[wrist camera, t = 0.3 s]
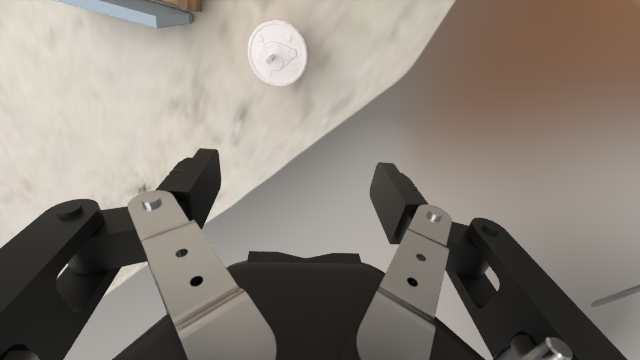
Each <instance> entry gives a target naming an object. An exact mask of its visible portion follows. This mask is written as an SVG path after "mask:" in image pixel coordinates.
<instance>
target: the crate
mask: <svg viewBox="0 0 640 360" xmlns="http://www.w3.org/2000/svg"><path fill="white" fill-rule="evenodd" d="M162 1H166V2H169V3H172V4H176V5H178V7H179V8H183V9H186V10H192V11H200V12H202V0H162Z"/></svg>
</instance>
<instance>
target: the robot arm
mask: <svg viewBox="0 0 640 360" xmlns="http://www.w3.org/2000/svg"><path fill="white" fill-rule="evenodd" d="M220 186H221V172H220V162H219V153H218V150H216V149H203V148H200V149H199V150H198V151H197V153H196V154H195V155H194V157H193V158H186V159H184V160H182V161H180V162H179V163H178V164H177V165H176V166H175V167H174V168H173V170H172V171H171V172H170V173H169V175H168V176H167V177H166V178H165V179H164V181H163V182H162V183H161V184H160V185H159V187H158V188H157V189H156V190H155V191H149V192H145V193H142V194H139V195H137V196H136V197H134V198H133V199H131V200H130V202H129V203H128V206H127V207H121V208H114V209H107V210H101V209H100V207H99V205H98V203H97V202H96V201H94V200H90V199H76V200H71V201H67V202H63V203H60V204H58V205H55V206H53V207H51V208H50V209H48V210H46V211H45V212H44V213H43V214H41V215H40V216H39V217H38V218H37V219H35V220H34V221H33V222H32V223H31V224H29V225H28V226H27V227H26V228H25V229H23V230H22V231H21V232H20V233H19V234H17V235H16V236H15V237H14V238H12V239H11V240H10V241H9V242H8V243H6V244H5V245H4V246H3V247H2V248H0V360H63V359H64V358H65V356H66V354H67V353H68V351H69V350H70V348H71V347H72V345H73V343H74V342H75V340H76V338H77V337H78V335H79V334H80V332H81V331H82V329H83V327H84V326H85V324H86V323H87V321H88V319H89V318H90V316H91V315H92V313H93V312H94V310H95V308H96V306H97V305H98V303H99V302H100V300H101V299H102V297H103V296H104V294H105V292H106V291H107V289H108V288H109V286H110V284H111V283H112V281H113V280H114V278H115V276H116V275H117V273H118V272H119V270H120V268H121V267H123V266H127V265H132V264H136V263H141V262H145V261H147V262H148V265H149V267H150V270H151V272H152V275H153V278H154V280H155V283H156V285H157V288H158V290H159V293H160V296H161V298H162V301H163V304H164V306H165V309H166V312H167V315H165V316H164V317H163V318H162V319H161V320H159V321H158V322H157V323H156V324H155V325H153V326H152V327H151V328H150V329H148V330H147V331H146V332H145V333H144V334H142V335H141V336H140V337H139V338H138V339H136V340H135V341H134V342H133V343H132V344H130V345H129V346H128V347H127V348H126V349H124V350H123V351H122V352H121V353H120V354H118V355H117V356H116V357H115V358H114V359H112V360H485V359H484V358H483V357H482V356H480V355H479V354H478V353H477V352H476V351H475V350H474V349H472V348H471V347H470V346H469V345H468V344H467V343H465V342H464V341H463V340H462V339H461V338H460V337H458V336H457V335H456V334H455V333H454V332H453V331H452V330H450V329H449V328H448V327H447V326H446V325H445V324H444V323H442V322H441V321H440V320H439V319H438V318H437V317H435V313H436V308H437V304H438V299H439V294H440V290H441V285H442V281H443V276H444V271H445V270H446V271H447V274H448V275H449V277H450V279H451V281H452V283H453V284H454V287H455V288H456V290H457V292H458V294H459V296H460V298H461V299H462V301H463V303H464V305H465V307H466V309H467V310H468V312H469V314H470V316H471V318H472V319H473V322H474V323H475V325H476V327H477V329H478V330H479V333H480V335H481V336H482V338H483V340H484V342H485V344H486V346H487V347H488V349H489V351H490V353H491V355H492V357H493V360H627V359H626V358H625V357H624V356H623V355H622V353H621V352H620V351H619V350H618V349H617V348H616V347H615V346H614V345H613V344H612V343H611V342H610V341H609V340H608V339H607V338H606V336H605V335H604V334H603V333H602V332H601V331H600V330H599V329H598V328H597V327H596V326H595V325H594V324H593V323H592V322H591V321H590V319H589V318H588V317H587V316H586V315H585V314H584V313H583V312H582V311H581V310H580V309H579V308H578V307H577V306H576V304H575V303H574V302H573V301H572V300H571V299H570V298H569V297H568V296H567V295H566V294H565V293H564V292H563V291H562V290H561V289H560V287H559V286H558V285H557V284H556V283H555V282H554V281H553V280H552V279H551V278H550V277H549V276H548V275H547V274H546V273H545V271H544V270H543V269H542V268H541V267H540V266H539V265H538V264H537V263H536V262H535V261H534V260H533V259H532V258H531V257H530V255H528V253H527V252H526V251H525V250H524V249H523V248H522V247H521V246H520V245H519V244H518V243H517V242H516V241H515V240H514V239H513V237H512V236H511V235H510V234H509V233H508V232H507V231H506V230H505V229H504V228H503V227H501V226H500V225H499V224H497V223H495V222H493V221H490V220H488V219H484V218H474V219H473V220H472V222H471V223H470V225H469V226H467V225H463V224H459V223H455V222H452V219H451V217H450V216H449V215H448V213H446V212H445V211H444V210H442V209H441V208H438V207H436V206H433V205H429V204H428V203H427V202H426V200H425V199H424V197H423V196H422V195H421V193H420V192H419V191H418V189H417V188H416V187H415V186H414V184H413V182H412V181H411V180H410V179H409V178H408V177H407V176H405V175H404V174H403V173H400V172H399V170H398V169H397V168H396V166H395V165H394V164H393V163H381V162H380V163H378V164H377V166H376V169H375V173H374V176H373V180H372V183H371V187H370V198H371V201H372V203H373V205H374V208H375V210H376V212H377V215H378V217H379V219H380V222H381V224H382V226H383V229H384V231H385V233H386V236H387V238H388V240H389V243H390V244H400V245H399V247H398V249H397V251H396V254H395V255H394V257H393V260H392V261H391V263H390V266H389V268H388V270H387V272H386V274H385V273H384V272H382V271H381V270H379V269H377V268H375V267H373V266H371V265H368V264H365V263H362V262H361V260H360V256H359V254H352V253H351V254H350V253H332V254H326V255H321V256H316V257H312V258H301V257H297V256H293V255H288V254H284V253H280V252H256V251H249V255H248V260H246V261H242V262H239V263H235V264H233V265H230V266H228V267H227V268H226V267H225V266H224V264H223V263H222V261H221V260H220V258H219V256H218V255H217V253H216V252H215V250H214V249H213V247H212V246H211V244H210V243H209V241H208V240H207V238H206V237H205V235H204V234H203V232H202V231H201V230H202V228H203V226H204V223H205V221H206V219H207V217H208V215H209V212H210V210H211V208H212V206H213V203H214V201H215V199H216V197H217V194H218V192H219V190H220ZM67 263H68V267H67V268H66V269H65V270H64V271H63V273H62V274H61V275H60V276H59V277H58V274H59V273H60V271H61V270H62V269H63V268H64V267H65V265H66V264H67ZM489 266H490V267H491V268H492V270H493V271H494V272H495V274H496V275H497V277H498V279H499V283H500V287H499V290H498V291H496V289H495V288H494V286H493V285H492V283H491V282H490V280H489V279H488V278H487V276H486V275H485V273H484V272H485V271H486V270H487V268H488V267H489ZM57 277H58V278H57ZM56 279H57V280H56Z"/></svg>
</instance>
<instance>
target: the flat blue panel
mask: <svg viewBox="0 0 640 360" xmlns="http://www.w3.org/2000/svg"><path fill="white" fill-rule="evenodd" d="M54 1H58V2H62V3H65V4H69V5H73V6H76V7H80V8H84V9H87V10H91V11H95V12H98V13H102V14H106V15H109V16H113V17H117V18H120V19H124V20H128V21H131V22H135V23H139V24H143V25H146V26H150V27H154V28H162V27H168V26H175V25H181V24H187V23H190V24H191V23H192V20H193V17H192V13H190V12H187V11H183V10H180V9H176V8H173V7H170V6H166V5H163V4H159V3H156V2H153V1H149V0H54Z"/></svg>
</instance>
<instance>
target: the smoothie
mask: <svg viewBox="0 0 640 360" xmlns="http://www.w3.org/2000/svg"><path fill="white" fill-rule="evenodd" d="M248 59H249V62H250V65H251V67H252V69H253V71H254V72H255V74H256V75H257V76H258V77H259V78H260V79H261V80H263V81H264V82H266V83H268V84H270V85H274V86H286V85H289V84H292V83H293V82H295V81H296V80H297V79H298V78H299V77H300V76H301V75H302V73H303V72H304V70H305V67H306V63H307V59H308V58H307V47H306V43H305V41H304V39H303V37H302V35H301V33H300V32H299V31H298V30H297V29H296V28H295V27H294V26H292V25H291V24H289V23H288V22H285V21H281V20H270V21H267V22H264V23H262V24H261V25H259V26H258V27H257V28H256V29H255V30H254V32H253V33H252V35H251V37H250V39H249V43H248Z"/></svg>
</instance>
